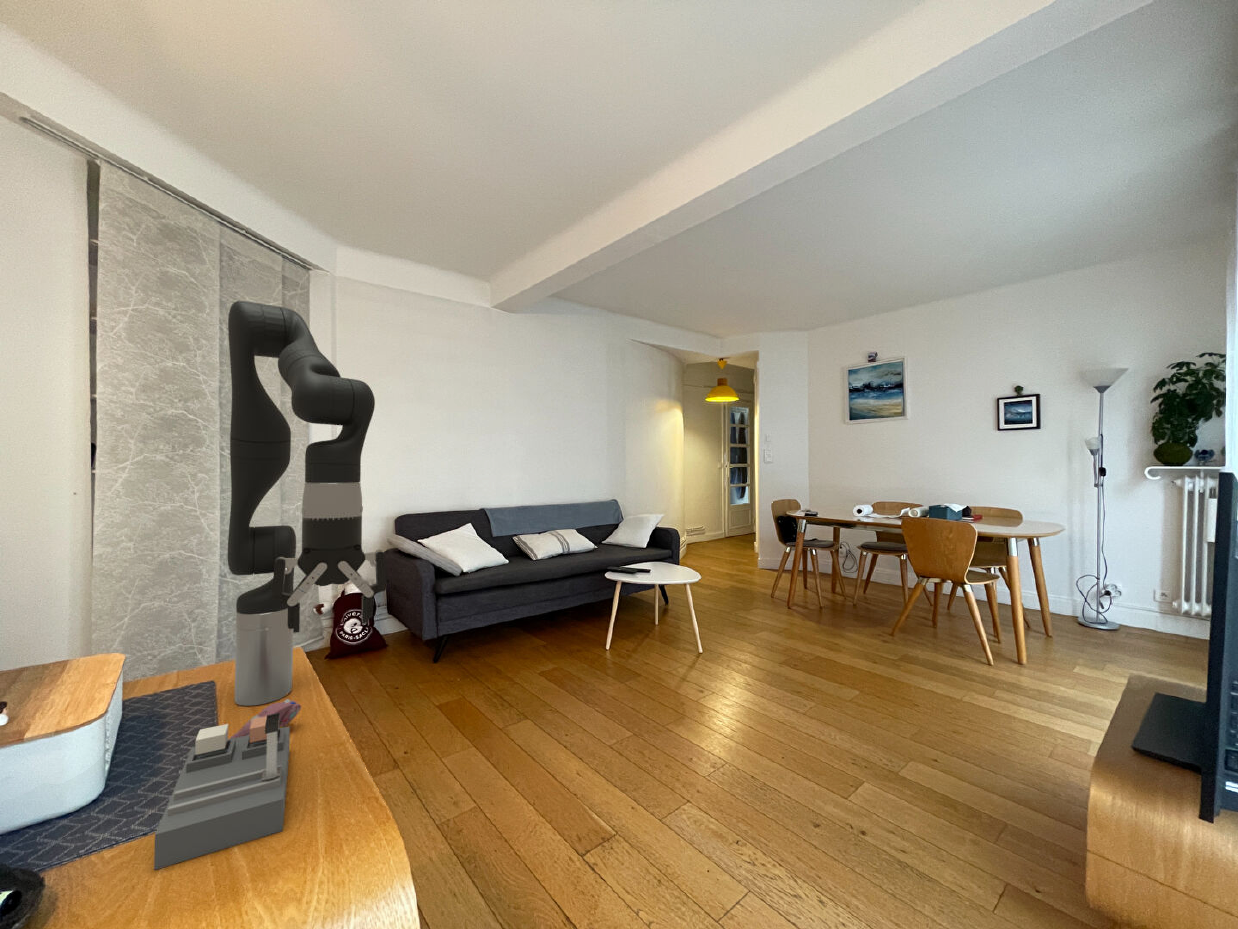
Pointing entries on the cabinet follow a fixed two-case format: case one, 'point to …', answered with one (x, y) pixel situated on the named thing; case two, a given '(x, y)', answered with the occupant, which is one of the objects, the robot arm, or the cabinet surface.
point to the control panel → (223, 800)
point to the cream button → (211, 739)
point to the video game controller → (284, 708)
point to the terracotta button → (258, 729)
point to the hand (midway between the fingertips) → (331, 626)
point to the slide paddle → (271, 748)
